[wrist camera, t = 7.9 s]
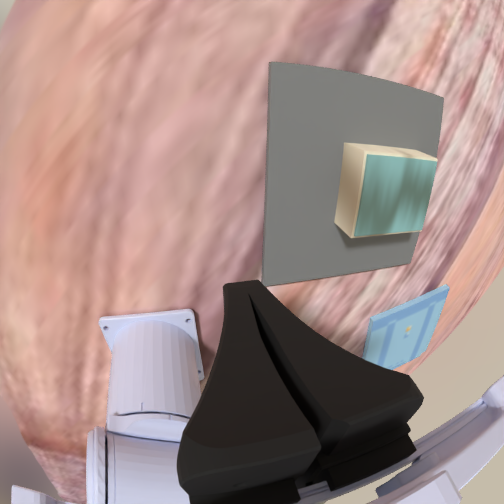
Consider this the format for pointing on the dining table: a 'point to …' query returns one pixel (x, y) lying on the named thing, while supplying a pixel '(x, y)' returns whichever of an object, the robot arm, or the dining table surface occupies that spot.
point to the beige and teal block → (383, 190)
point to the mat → (332, 166)
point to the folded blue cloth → (404, 330)
